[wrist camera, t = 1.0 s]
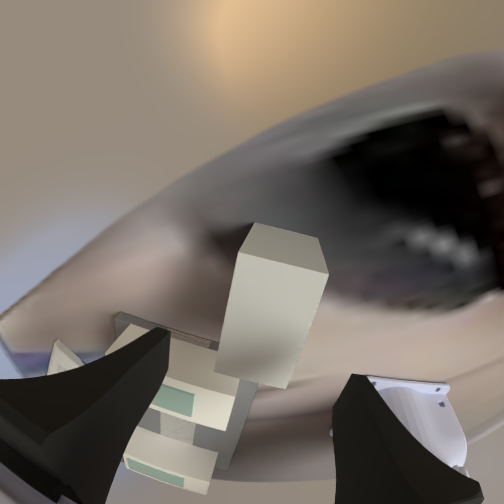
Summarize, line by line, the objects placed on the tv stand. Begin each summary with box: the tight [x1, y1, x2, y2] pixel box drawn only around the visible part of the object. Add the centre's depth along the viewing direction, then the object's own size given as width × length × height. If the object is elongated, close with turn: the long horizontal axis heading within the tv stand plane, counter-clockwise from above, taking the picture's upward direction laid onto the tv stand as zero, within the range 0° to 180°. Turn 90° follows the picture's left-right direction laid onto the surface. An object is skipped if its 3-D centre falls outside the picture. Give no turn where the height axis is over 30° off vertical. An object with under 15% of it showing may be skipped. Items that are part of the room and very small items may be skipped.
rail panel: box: [105, 312, 258, 495], centre depth 22 cm, size 12×18×5 cm, turn 168°
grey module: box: [214, 223, 329, 389], centre depth 16 cm, size 4×7×6 cm, turn 168°
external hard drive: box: [47, 340, 85, 375], centre depth 27 cm, size 2×8×12 cm
